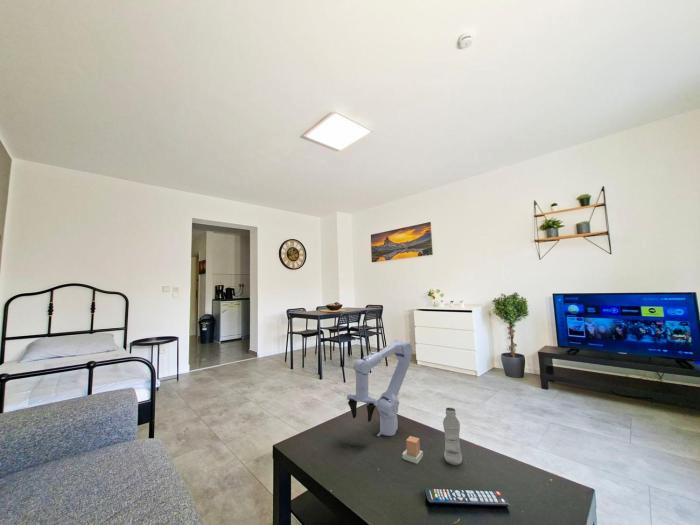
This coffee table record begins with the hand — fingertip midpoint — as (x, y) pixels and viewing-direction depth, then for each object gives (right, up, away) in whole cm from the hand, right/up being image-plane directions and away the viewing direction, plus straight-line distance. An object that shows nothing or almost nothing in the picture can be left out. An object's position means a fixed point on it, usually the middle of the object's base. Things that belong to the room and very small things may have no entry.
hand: (362, 419), depth 124 cm
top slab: (+20, -7, -14) cm, 25 cm away
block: (+20, -5, -15) cm, 25 cm away
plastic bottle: (+35, -8, -17) cm, 40 cm away
